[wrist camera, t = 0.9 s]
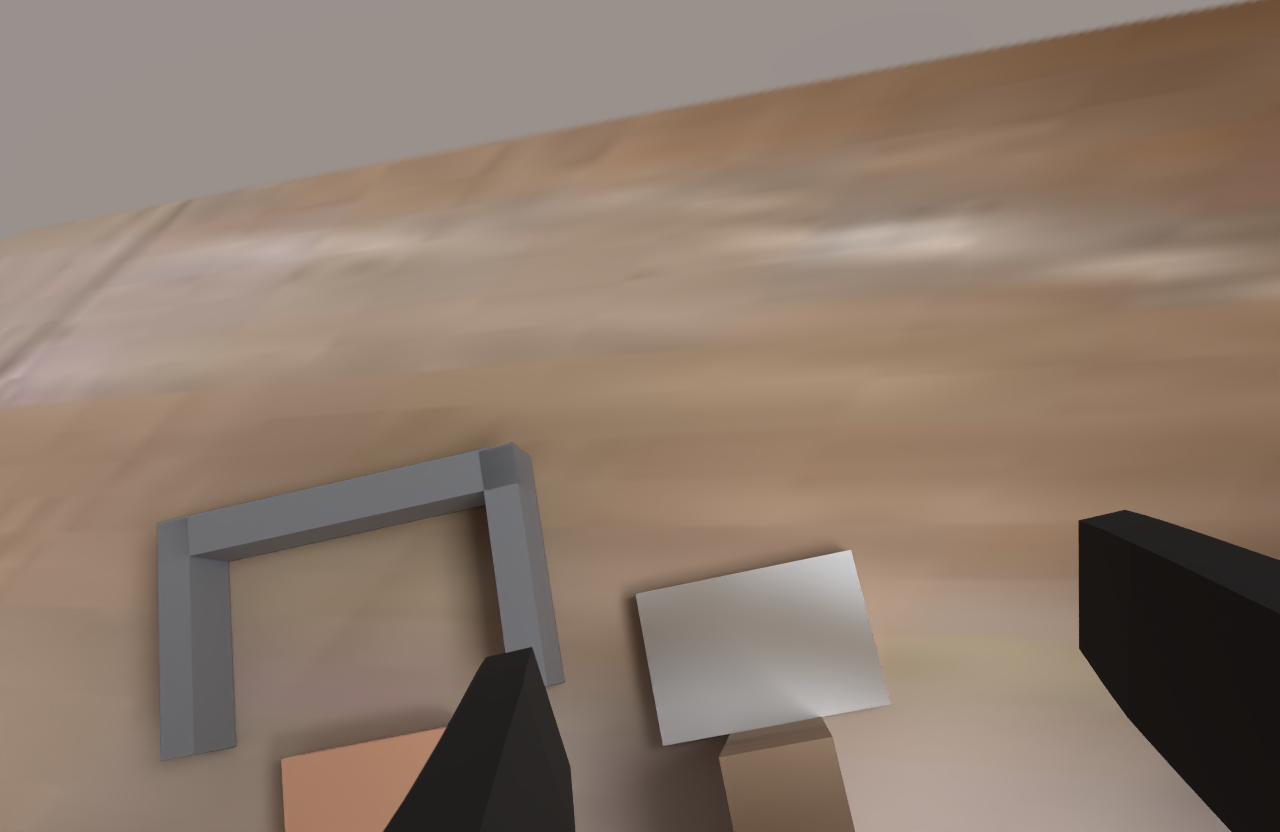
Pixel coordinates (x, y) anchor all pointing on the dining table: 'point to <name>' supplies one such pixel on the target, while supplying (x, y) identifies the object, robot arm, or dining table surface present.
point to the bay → (211, 539)
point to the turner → (767, 682)
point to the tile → (353, 783)
